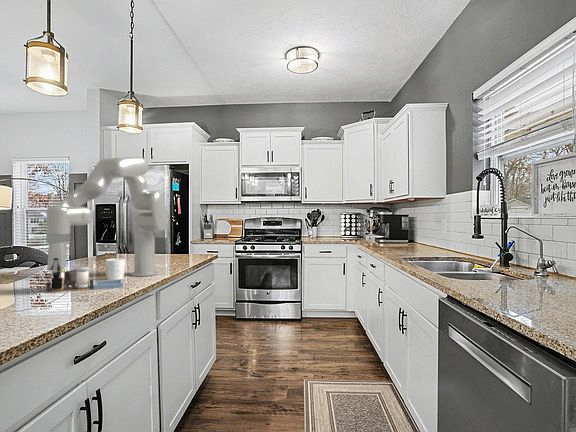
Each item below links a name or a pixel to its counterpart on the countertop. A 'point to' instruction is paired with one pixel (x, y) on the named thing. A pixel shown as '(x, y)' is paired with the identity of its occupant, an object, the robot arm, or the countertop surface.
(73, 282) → the fuse holder
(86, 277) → the grey rounded cylinder
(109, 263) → the white cup
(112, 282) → the tray
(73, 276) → the perforated stone tool
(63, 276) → the marked fuse
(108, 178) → the robot arm
